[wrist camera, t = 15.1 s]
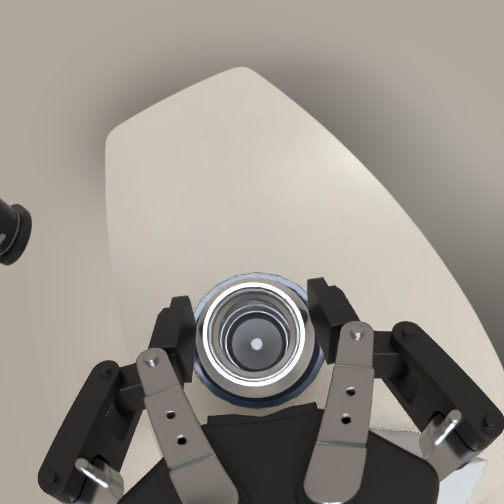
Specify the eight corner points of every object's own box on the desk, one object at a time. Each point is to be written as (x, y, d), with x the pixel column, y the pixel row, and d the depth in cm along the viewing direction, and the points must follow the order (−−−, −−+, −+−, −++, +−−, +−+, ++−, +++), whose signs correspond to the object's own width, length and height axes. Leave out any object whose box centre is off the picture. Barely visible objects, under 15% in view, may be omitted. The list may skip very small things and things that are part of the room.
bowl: (184, 362, 30) (164, 366, 23) (234, 270, 33) (228, 250, 27) (281, 412, 28) (287, 429, 21) (330, 316, 31) (347, 308, 25)
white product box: (418, 430, 26) (491, 458, 11) (393, 487, 23) (450, 535, 9) (359, 425, 27) (421, 468, 12) (333, 486, 24) (373, 551, 10)
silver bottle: (226, 376, 27) (166, 425, 8) (224, 312, 29) (165, 246, 11) (289, 373, 27) (348, 418, 8) (286, 310, 29) (334, 238, 10)
